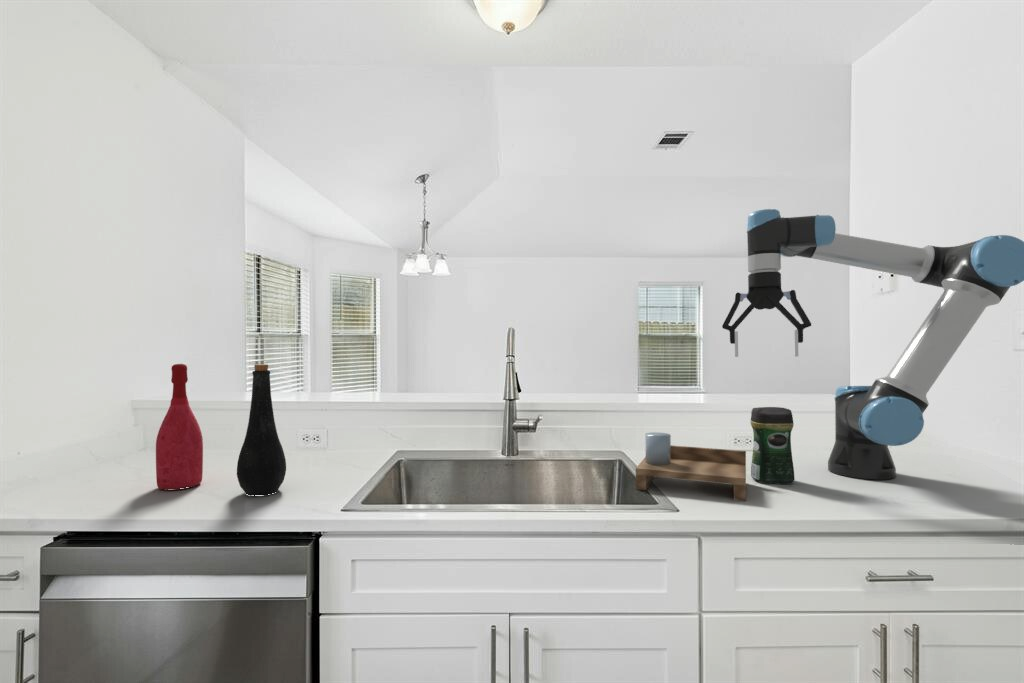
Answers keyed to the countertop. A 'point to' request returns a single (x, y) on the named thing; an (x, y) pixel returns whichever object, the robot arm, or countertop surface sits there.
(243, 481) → the bottle
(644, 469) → the shelf
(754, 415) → the coffee jar
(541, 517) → the countertop surface
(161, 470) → the wine bottle
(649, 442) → the grey blue cylinder
